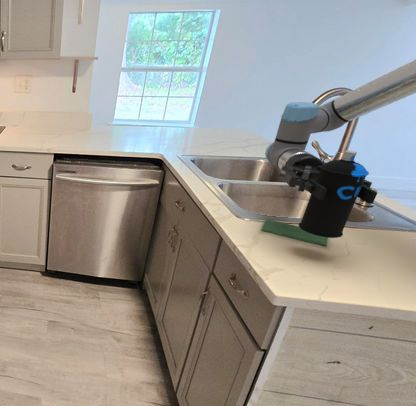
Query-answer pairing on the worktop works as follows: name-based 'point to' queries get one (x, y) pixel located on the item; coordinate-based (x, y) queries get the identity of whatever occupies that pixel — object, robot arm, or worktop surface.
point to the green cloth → (292, 232)
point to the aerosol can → (334, 197)
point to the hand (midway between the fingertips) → (347, 196)
